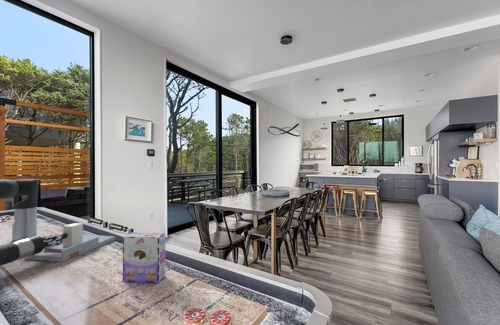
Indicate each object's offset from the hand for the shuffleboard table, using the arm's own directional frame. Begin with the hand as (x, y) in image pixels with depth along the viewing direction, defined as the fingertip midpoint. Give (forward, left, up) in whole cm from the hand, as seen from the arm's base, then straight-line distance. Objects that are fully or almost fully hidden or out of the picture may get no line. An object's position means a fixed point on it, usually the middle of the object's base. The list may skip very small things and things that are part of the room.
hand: (66, 235), depth 112 cm
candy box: (+34, -44, -8) cm, 56 cm away
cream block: (+2, +3, -6) cm, 7 cm away
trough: (+3, +4, -8) cm, 9 cm away
